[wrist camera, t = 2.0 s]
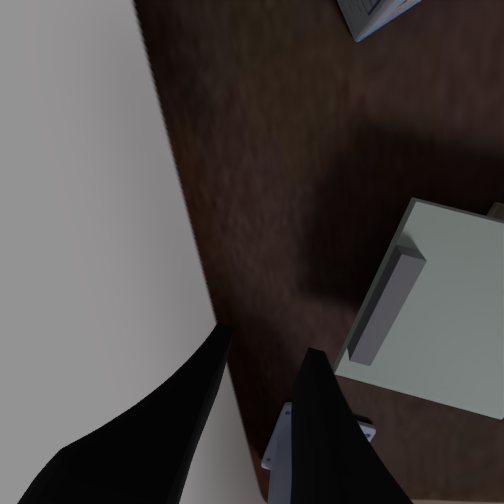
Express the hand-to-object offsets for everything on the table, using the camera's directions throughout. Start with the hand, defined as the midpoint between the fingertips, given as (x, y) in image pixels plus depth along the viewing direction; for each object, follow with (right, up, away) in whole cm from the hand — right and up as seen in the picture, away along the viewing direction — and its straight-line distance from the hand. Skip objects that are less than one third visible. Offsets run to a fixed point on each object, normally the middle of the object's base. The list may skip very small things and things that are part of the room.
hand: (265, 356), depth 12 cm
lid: (+11, 0, +6) cm, 13 cm away
